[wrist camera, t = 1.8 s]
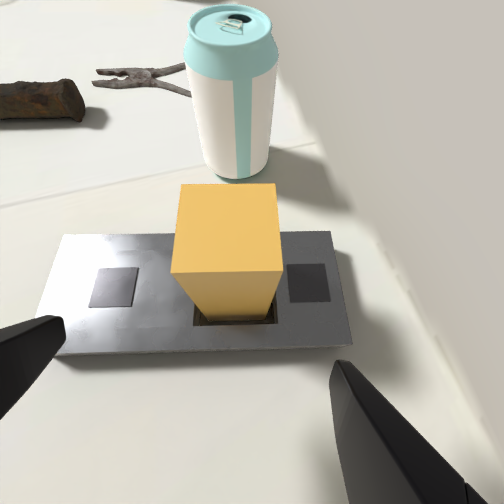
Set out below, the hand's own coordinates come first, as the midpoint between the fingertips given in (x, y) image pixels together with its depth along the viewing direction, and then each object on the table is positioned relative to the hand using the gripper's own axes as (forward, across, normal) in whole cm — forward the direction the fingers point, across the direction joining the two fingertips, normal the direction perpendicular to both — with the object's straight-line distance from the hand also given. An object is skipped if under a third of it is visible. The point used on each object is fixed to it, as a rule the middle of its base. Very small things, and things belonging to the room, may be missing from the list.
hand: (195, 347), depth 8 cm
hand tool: (+24, +31, -7) cm, 40 cm away
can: (+23, +3, -6) cm, 24 cm away
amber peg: (+12, 0, +5) cm, 13 cm away
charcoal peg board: (+11, +3, +5) cm, 13 cm away
